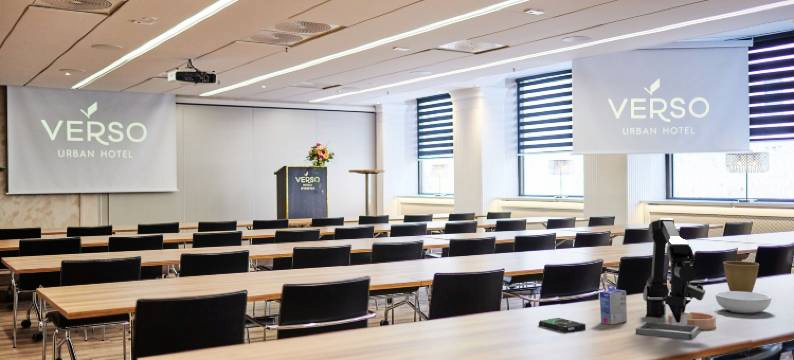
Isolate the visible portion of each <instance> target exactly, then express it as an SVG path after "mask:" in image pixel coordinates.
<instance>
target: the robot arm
mask: <svg viewBox="0 0 794 360" xmlns="http://www.w3.org/2000/svg"><path fill="white" fill-rule="evenodd" d="M674 220H675V219H673V218H671V217H667V218H665V217H662V218H659V219H658V220H653V221H651V222H650V223H649V224H648V233H649V235H650V238H651V239H652V242H653V246H652V261H651V262H652V263H651V275H650V276H649V277H648V279H647V280H646V283H645V286H644V289H643V293H642V298H643V300H644V301H645V302H646V314H645V317H653V318H663V317H665V316H666V313H667V312H666V311H667V309H666V308H667V307H666V305H668V307H669V310H670V312H671V313H673V316H674V318H675V320H676V322H677V323H680V319H681V314H682V312H685V311H686V308H687V305H688V304H689V303H691V301H692V300H693V299H696V300H697V301H702V300H703V299H704V296H705V295H706V289H704V285H702V284H700V283H699V284H698V285H696V286H695V285H692V284H691V282H693V281H694V280H695V279H696V277H697V271H696V269H695V268H694V267H693V266H692V265H691V264H694V263H695V255H694V252H693V249H692V247H691V246H690V244H689V243H688V242H687V240H686V239H683V238H682V237H681V236H680V234H679V231H678V229H677V228H676V226H675V221H674ZM666 245H667V246H666ZM666 254H667V258H668V260H669V263H670V280H669V284H670V289H669V286H668V284H667V282H666V281H665V279H664V277H665V275H664V274H665V261H666Z"/></svg>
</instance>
